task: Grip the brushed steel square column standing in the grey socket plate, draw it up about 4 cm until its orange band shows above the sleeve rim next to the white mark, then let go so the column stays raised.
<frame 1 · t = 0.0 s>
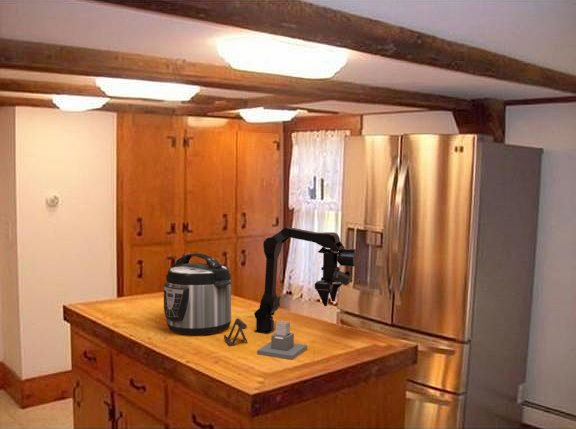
hand: (329, 303, 232), 15 cm above the worktop, tool pointing down, fingers open, 9 cm apart
pressure cooker: (197, 329, 247), on the worktop
grey socket plate: (282, 351, 217), on the worktop
portable electronic device stand: (236, 342, 229), on the worktop
steel column: (282, 334, 217), point 6 cm above the worktop, slide at 0.0 cm
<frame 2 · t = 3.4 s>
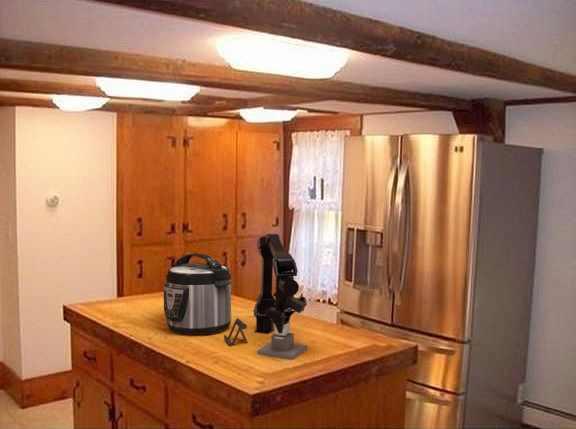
hand: (282, 331, 217), 8 cm above the worktop, tool pointing down, fingers closed on steel column, 4 cm apart
steel column: (282, 335, 217), point 6 cm above the worktop, slide at 0.0 cm, touching gripper
everything else where it was.
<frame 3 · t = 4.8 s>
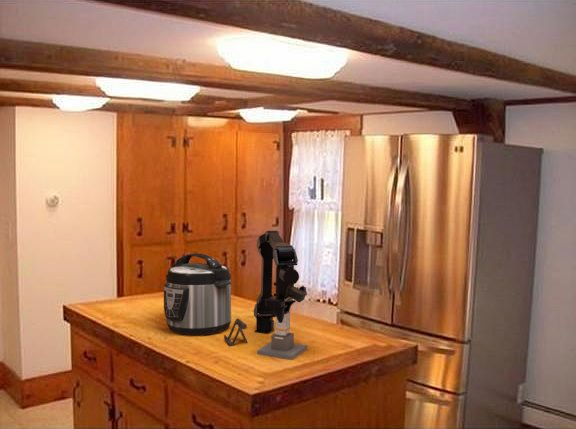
hand: (282, 321, 217), 11 cm above the worktop, tool pointing down, fingers closed on steel column, 4 cm apart
steel column: (282, 324, 217), point 10 cm above the worktop, slide at 3.9 cm, touching gripper
everything else where it was.
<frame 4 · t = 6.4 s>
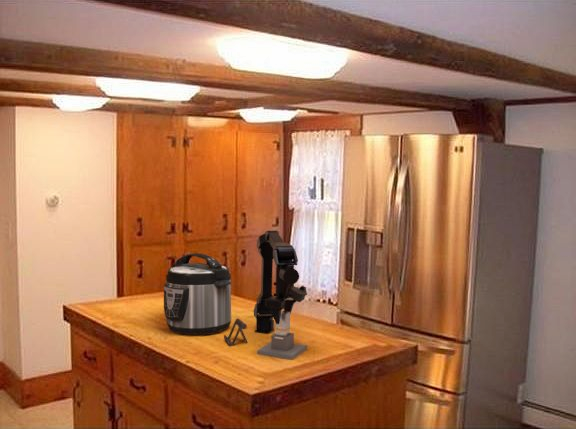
hand: (282, 321, 217), 11 cm above the worktop, tool pointing down, fingers open, 9 cm apart
steel column: (282, 324, 217), point 10 cm above the worktop, slide at 3.9 cm
everything else where it was.
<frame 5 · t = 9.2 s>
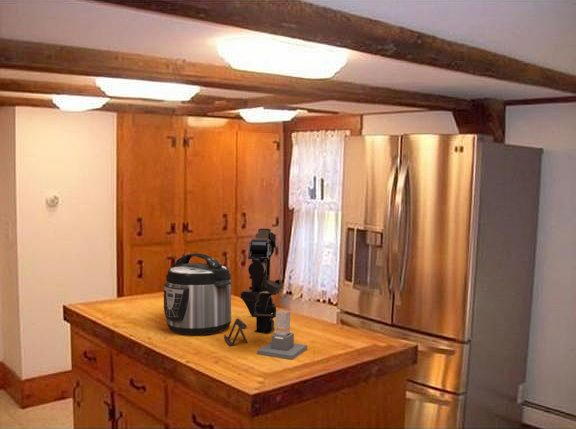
hand: (258, 314, 220), 13 cm above the worktop, tool pointing down, fingers open, 9 cm apart
nothing on the worktop moved.
at the end: steel column slide at 3.9 cm; the gripper is holding nothing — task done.
